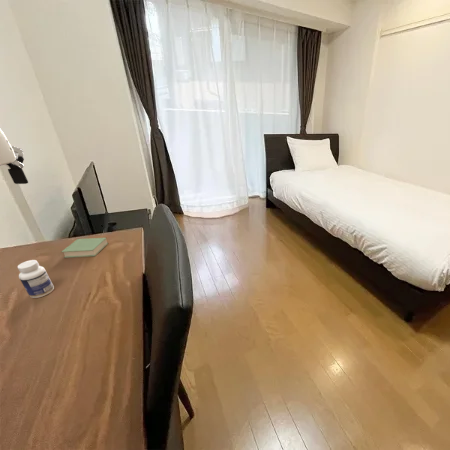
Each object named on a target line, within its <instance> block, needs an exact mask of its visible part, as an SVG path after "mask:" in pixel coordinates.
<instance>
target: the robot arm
mask: <svg viewBox="0 0 450 450" xmlns="http://www.w3.org/2000/svg"><path fill="white" fill-rule="evenodd" d="M24 160H25V158H24V150H23V149H22V148H20V147H17V146H14V145H11V143H10V142H9V140H8V137H7V136H6V134H5V133H4V131H3V130H2V129H1V127H0V166H6V167H7V172H8V174H9V176H10V177H11V180H12V182H13V184H14V185H26V184H29V180H28V178H27V176H26V173H25V172H24V170H23V169H24V167H25V166H24V164H23V163H24Z"/></svg>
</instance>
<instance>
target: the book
mask: <svg viewBox="0 0 450 450" xmlns="http://www.w3.org/2000/svg"><path fill="white" fill-rule="evenodd" d="M108 245H109V242H108V241H107V237H91V238H89V237H88V238H77V239H75V240H74V241H73V242H72V243H70V244H69V245H67V247H65V248H64V249H63V250H62V251H61V253H63V255H64V256H63V258H64V259H67V258H68V259H69V258H89V257H96V256H97V255H98V254H99V253H100V252H101V251H103V250H104V248H106V247H107V246H108Z"/></svg>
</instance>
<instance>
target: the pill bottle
mask: <svg viewBox="0 0 450 450" xmlns="http://www.w3.org/2000/svg"><path fill="white" fill-rule="evenodd" d="M17 269H18V271H19V274H18V279H19V280H20V282H21V284H22V286H23V287H24V289H25V291H26V294H28V296H29V298H32V299H37V298H38V299H39V298H42V297H45V296H47V295H50V294H51V293H52V292H53V291H54V290H55V286H54V284H53V282H52V280H51V277H50V276H49V274H48V272H47V270H46V269H45V267H44V266H42V265H40V263H39V261H37V260H36V259H29V260H26V261H23V262H21V263H19V264H18V265H17Z"/></svg>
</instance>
